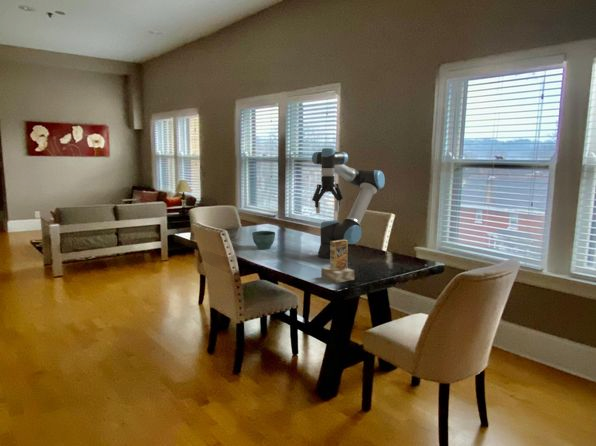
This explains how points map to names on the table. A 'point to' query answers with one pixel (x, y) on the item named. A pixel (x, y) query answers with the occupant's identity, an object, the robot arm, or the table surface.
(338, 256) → the candy box
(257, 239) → the flower pot
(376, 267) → the table surface
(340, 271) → the birch stand
